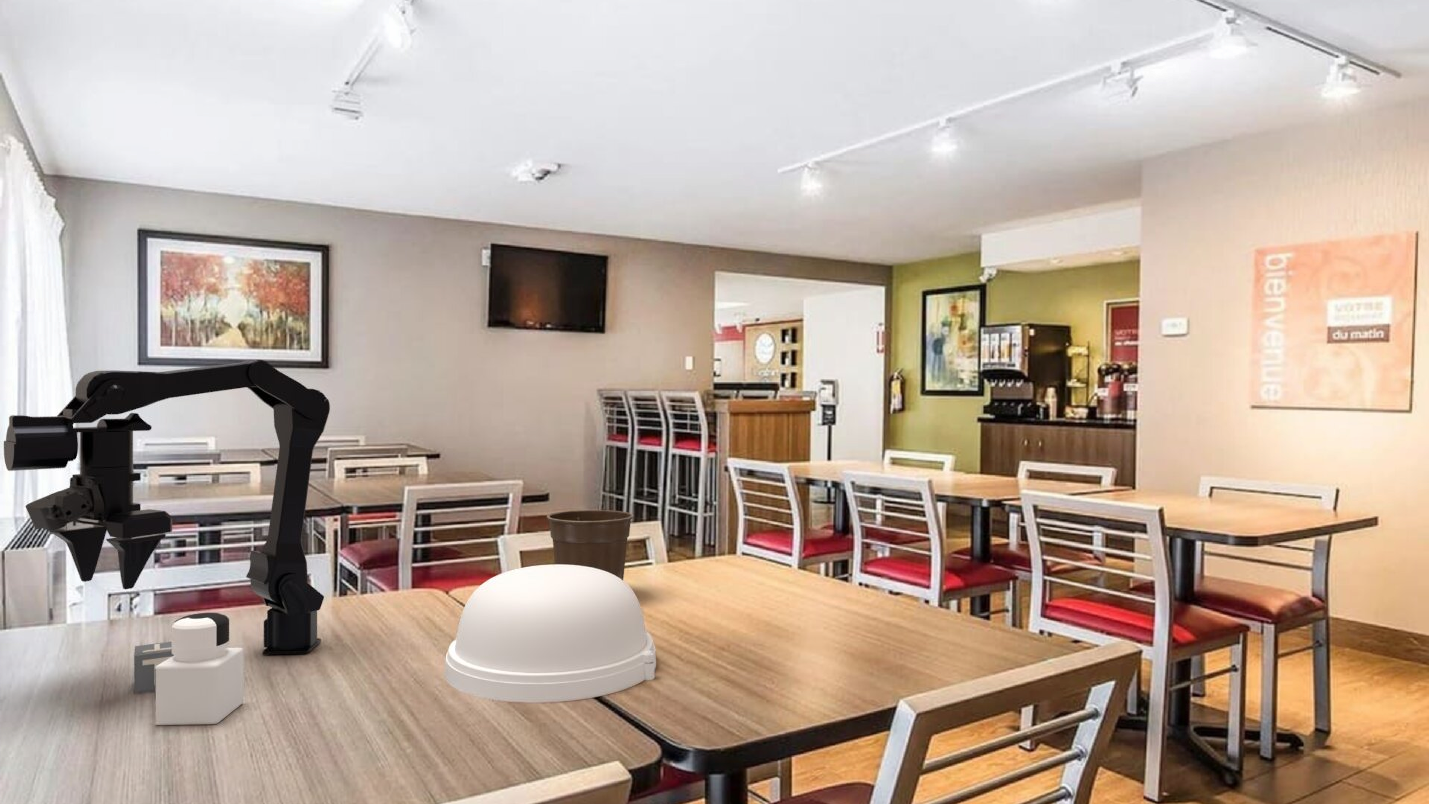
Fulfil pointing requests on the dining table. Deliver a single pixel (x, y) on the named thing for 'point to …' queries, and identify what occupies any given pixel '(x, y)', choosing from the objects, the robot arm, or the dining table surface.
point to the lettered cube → (149, 664)
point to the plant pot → (591, 539)
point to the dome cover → (550, 637)
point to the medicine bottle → (199, 673)
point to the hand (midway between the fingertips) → (106, 584)
